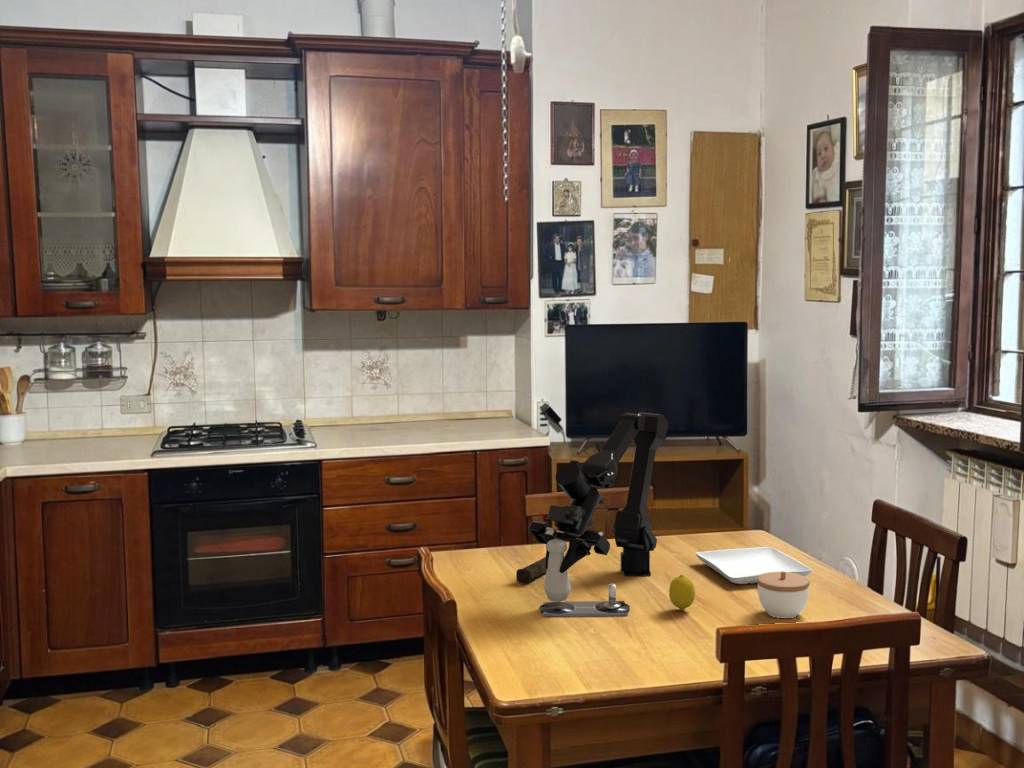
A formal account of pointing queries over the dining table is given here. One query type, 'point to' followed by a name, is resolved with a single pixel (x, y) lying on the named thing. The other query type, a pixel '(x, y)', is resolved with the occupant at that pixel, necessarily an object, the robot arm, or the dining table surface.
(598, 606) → the plate
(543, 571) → the hand tool
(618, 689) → the dining table surface
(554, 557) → the salt shaker
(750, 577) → the salad plate
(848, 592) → the dining table surface
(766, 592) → the lidded jar
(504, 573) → the dining table surface
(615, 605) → the fixed steel pin
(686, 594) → the lemon
